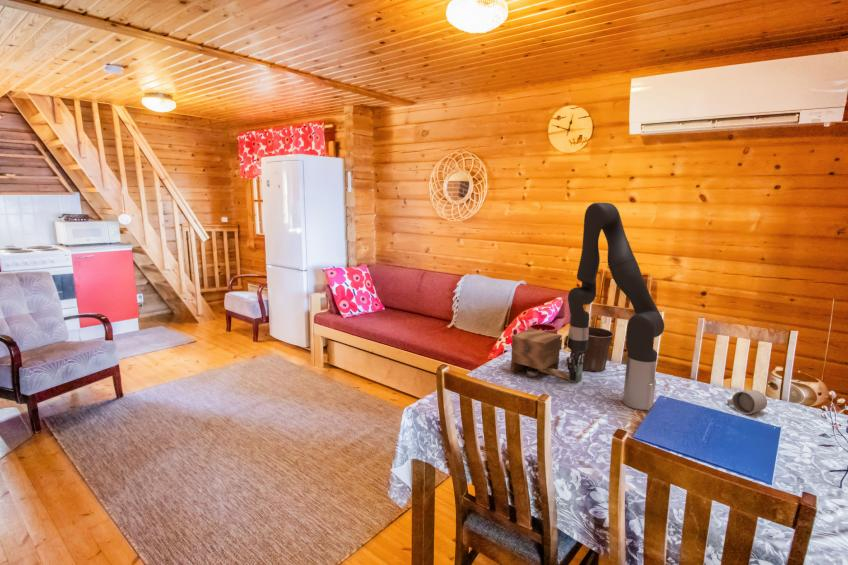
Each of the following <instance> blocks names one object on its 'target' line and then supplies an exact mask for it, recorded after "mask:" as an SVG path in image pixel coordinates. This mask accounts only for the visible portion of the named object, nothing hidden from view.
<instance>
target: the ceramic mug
mask: <svg viewBox="0 0 848 565" xmlns="http://www.w3.org/2000/svg"><path fill="white" fill-rule="evenodd" d="M726 402H727V405H729V406H733V408H734V410H736V411H737V412H739V413H741V414H742V415H751V414H754V413H757V412H758V413H759V412H762V411H763V410H765V409H766V407H768V406H767V405H768V400H767V398H766V396H765V394H763V393H762V392H760V391H759V390H756V389H755V390H754V389H750V390H749V389H748V390H739V391H736V392H735V393H734V394H733V395H732V398H731V399H727V400H726Z"/></svg>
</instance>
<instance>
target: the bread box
mask: <svg viewBox="0 0 848 565" xmlns="http://www.w3.org/2000/svg"><path fill="white" fill-rule="evenodd" d="M544 331H545V330H544ZM544 331H539V330H535V329H529V328H527V329H525V330H523V331H521V332H517V333H515V334H513V335H511V339H512V342H511V361H510V374H512V375H513V374H515V373H517V372H519V371H521V370H522V369H525V368H527V367H529V366H530V367H533V368H537V369H541V370H544V369H545V368H547V367H549V368H553V369H557V370H559V363H560V362H559V361H560V351H561V339H562V336H563V335H562V334H558V333H557V334H554V333H549V332H544Z"/></svg>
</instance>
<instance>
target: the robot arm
mask: <svg viewBox="0 0 848 565" xmlns="http://www.w3.org/2000/svg"><path fill="white" fill-rule="evenodd" d="M620 214H621V213H620V211H619V209H618V208H617V206H616V205H614V204H612V203H610V202H593V203H591V204H590V205H589V206H588V207H586V209H585V213H584V218H583V219H584V220H583V234H582V235H583V236H582V248H581V254H580V259H579V264H578V268H577V272H576V279H577V280H578V281H579V282H581V286H577V287H573V288H571V289H570V291H569V292H568V295H567V302H568V309H569V314H570V320H569V328H568V334H567V335H568V336H567V348H568V349H569V350H570V353H569V357H568V356H567V357H566V364H567V365H566V366H567V371H569V370H570V380H573V381H575V380H576V371H577V366H579V363H580V364H583V365H584V360H585V355H586V351H585V350H587V348H588V337H589V327H590V313H589V312H588V311H586V310H584V306H585V305H590V304H592V303H593V302H594V301H595V299H596V297H597V275H598V272H599V268H600V262H601V261H600V260H601V257H600V251H599V240H600V239H599V238H600V235H601V231H602V233H603V235H604V238H606V243H607V266H608V269H609V271H610V273H611V277H612V279H613V281H614V283H615V285H616V286H617V288H619V290H620V291H621V292H622V293H623V294H624V295H625V296H626V297H627V299H628V300H629V301H630V303H631V306H632V308H633V310H634V313H635V314H633V315H632V316H630V318H629V319H628V321H627V327H626V339H625V346H626V350H627V357H626V364H625V375H624V377H625V378H624V384H623V385H624V386H623V396H622V403H623V404H624V405H625V406H627V407H629V408H632V409H635V410H640V411H641V410H645V411H650V410H651V408H652V407H653V406H654V400H655V393H656V392H655V391H656V385H657V384H656V383H657V380H656V379H655V378H656V368H657V361H658V352H657V351H656V349H655V348H654V339H655V338H657V337H660V336H661V335H662V334H663V332H664V331H665V322H664V319H663V317H662V315H661V313H660V311H659V309H658V307H657V306H656V304H655V302H654V300H653V298H652V296H651V294H650V292H649V289H648V287H647V286H648V285H647V284H646V282H645V278H644V277H643V274H642V271H641V268H640V267H639V264H638V261H637V259H636V257H635V255H634V252H633V251H632V250H633V249H632V247H631V245H630V242H629V240H628V238H627V235H626V231H625V229H624V225H623V221H622V218H621V216H620ZM574 362H575V363H576V364H575V363H574Z"/></svg>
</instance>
